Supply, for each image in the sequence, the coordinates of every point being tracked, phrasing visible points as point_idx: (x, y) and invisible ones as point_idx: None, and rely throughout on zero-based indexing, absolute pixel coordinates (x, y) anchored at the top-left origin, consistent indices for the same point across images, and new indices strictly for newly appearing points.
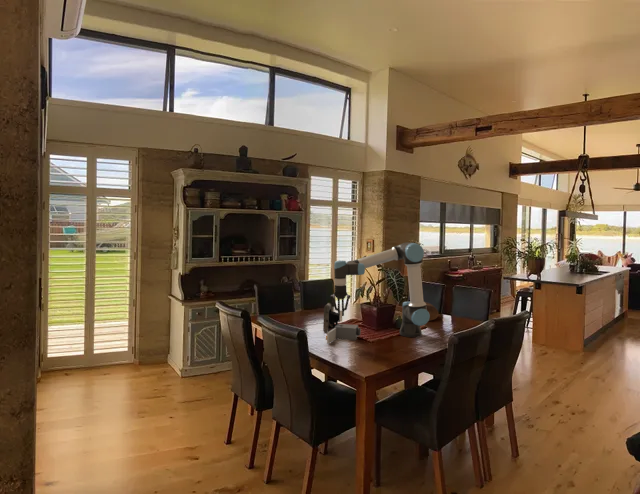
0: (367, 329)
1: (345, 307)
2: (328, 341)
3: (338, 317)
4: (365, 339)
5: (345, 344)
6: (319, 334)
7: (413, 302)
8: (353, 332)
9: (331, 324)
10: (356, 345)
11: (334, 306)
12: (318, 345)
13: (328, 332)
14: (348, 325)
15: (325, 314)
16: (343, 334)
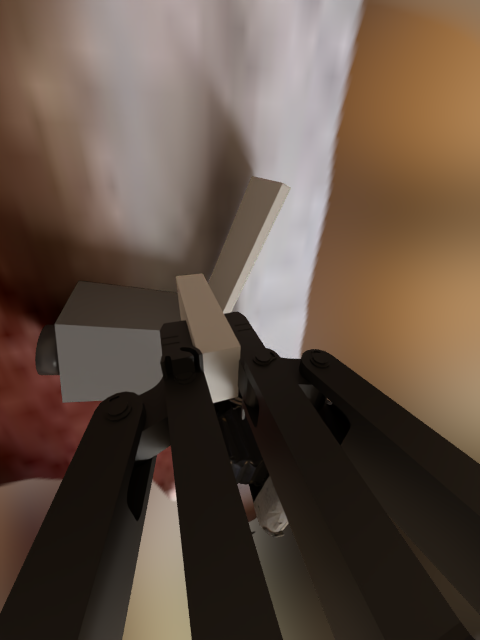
0: (61, 451)
1: (122, 452)
2: (255, 180)
3: None
4: (12, 310)
5: (134, 180)
6: (273, 345)
7: None
8: (84, 307)
9: (234, 403)
10: (35, 150)
11: (391, 400)
12: (307, 154)
13: (279, 199)
14: (135, 381)
15: None
16: (162, 305)
